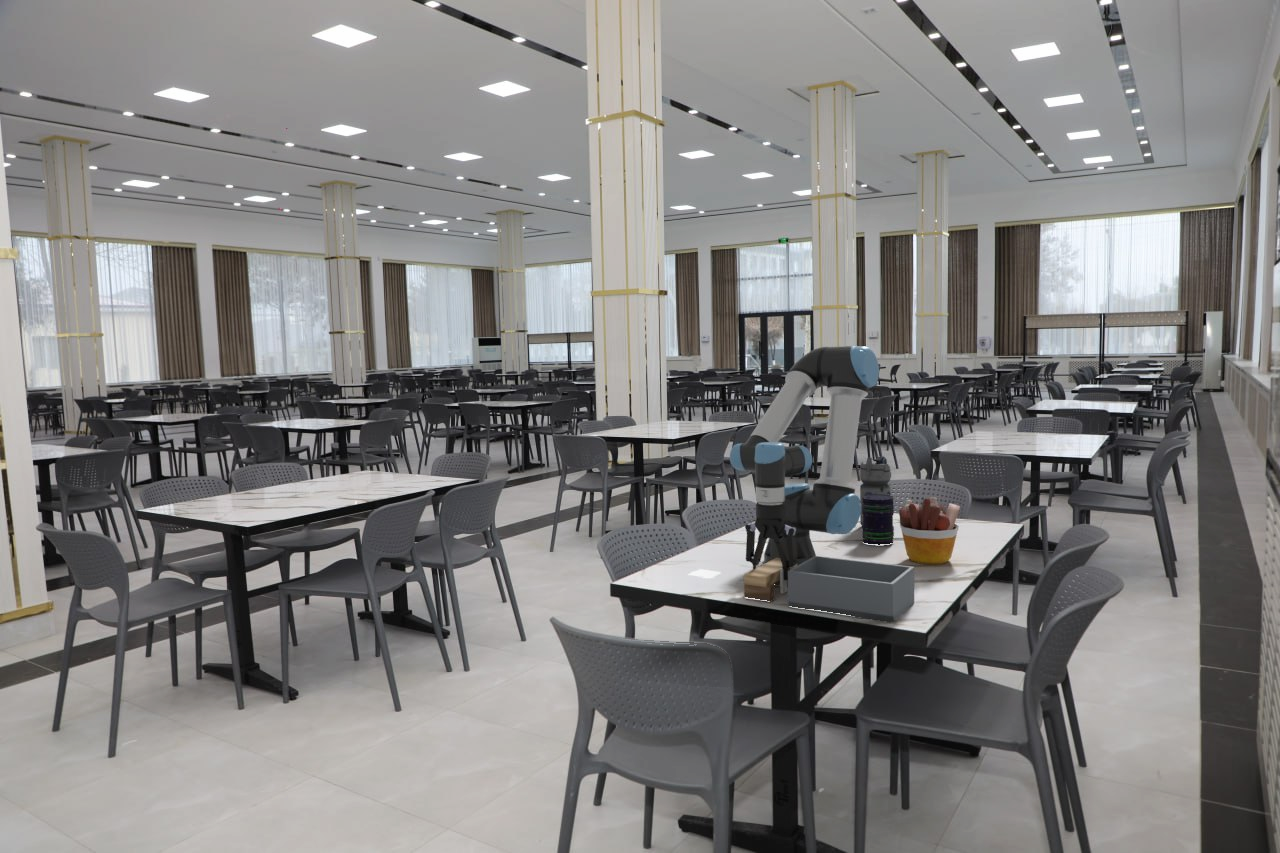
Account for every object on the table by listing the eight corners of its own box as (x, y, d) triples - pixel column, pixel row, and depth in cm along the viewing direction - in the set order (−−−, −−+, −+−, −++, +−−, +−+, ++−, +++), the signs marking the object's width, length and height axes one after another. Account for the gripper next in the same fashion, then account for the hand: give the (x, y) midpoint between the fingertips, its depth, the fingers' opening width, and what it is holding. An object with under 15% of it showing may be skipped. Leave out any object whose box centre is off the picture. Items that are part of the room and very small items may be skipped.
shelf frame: (788, 607, 210) (787, 571, 210) (814, 589, 225) (814, 555, 224) (893, 622, 196) (893, 584, 196) (914, 602, 211) (914, 566, 210)
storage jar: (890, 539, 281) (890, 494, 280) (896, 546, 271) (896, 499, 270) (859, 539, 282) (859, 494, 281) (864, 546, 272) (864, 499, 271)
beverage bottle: (898, 525, 303) (898, 454, 301) (882, 532, 293) (881, 458, 291) (871, 522, 309) (871, 453, 307) (854, 528, 299) (853, 457, 297)
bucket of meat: (904, 551, 265) (903, 486, 263) (961, 554, 258) (961, 489, 256) (894, 566, 247) (894, 497, 245) (955, 571, 240) (956, 500, 238)
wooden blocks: (769, 602, 215) (769, 586, 215) (744, 598, 219) (743, 583, 218) (797, 585, 230) (797, 570, 230) (773, 581, 234) (773, 567, 233)
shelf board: (765, 587, 214) (765, 577, 214) (744, 584, 217) (743, 574, 217) (797, 569, 231) (797, 560, 231) (776, 566, 234) (776, 557, 234)
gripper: (730, 502, 224) (732, 589, 226) (799, 507, 214) (800, 598, 216) (743, 497, 231) (744, 582, 233) (810, 502, 220) (811, 591, 222)
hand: (771, 590), depth 224 cm, fingers closed on shelf board, 6 cm apart
